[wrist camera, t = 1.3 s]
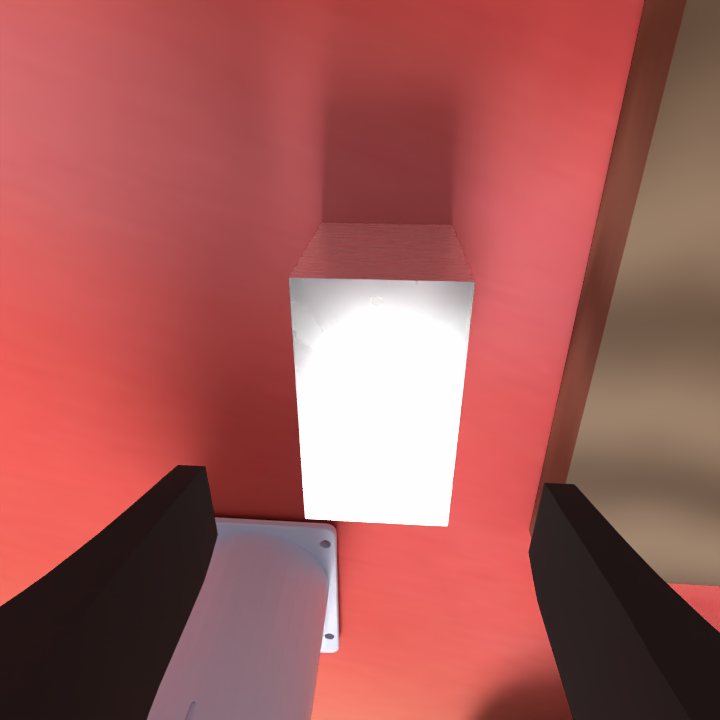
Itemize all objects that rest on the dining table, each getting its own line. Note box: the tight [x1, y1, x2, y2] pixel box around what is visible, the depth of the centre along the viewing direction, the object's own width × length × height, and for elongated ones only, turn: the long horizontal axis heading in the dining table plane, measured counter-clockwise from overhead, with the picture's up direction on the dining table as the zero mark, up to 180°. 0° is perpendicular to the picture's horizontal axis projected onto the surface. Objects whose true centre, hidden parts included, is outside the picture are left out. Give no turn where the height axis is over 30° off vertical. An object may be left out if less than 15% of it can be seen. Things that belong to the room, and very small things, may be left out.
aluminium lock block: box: [289, 223, 475, 526], centre depth 17 cm, size 8×4×6 cm, turn 0°
